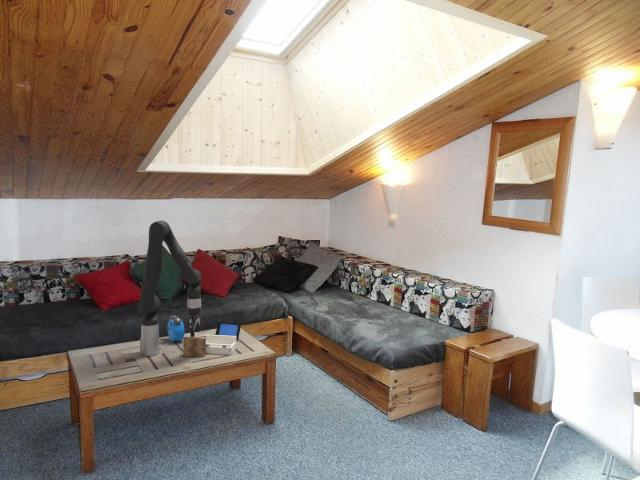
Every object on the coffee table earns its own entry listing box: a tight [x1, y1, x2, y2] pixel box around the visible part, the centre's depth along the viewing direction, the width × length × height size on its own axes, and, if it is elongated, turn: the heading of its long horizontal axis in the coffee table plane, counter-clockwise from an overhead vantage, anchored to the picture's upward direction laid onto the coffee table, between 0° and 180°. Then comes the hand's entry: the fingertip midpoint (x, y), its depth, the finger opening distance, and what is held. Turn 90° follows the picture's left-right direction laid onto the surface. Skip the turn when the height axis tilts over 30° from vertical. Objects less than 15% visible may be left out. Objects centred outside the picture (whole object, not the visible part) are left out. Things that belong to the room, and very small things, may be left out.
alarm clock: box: [167, 315, 185, 342], centre depth 290 cm, size 13×6×15 cm, turn 37°
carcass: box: [205, 334, 237, 356], centre depth 275 cm, size 18×12×7 cm
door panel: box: [182, 336, 207, 357], centre depth 267 cm, size 12×2×10 cm, turn 86°
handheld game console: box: [214, 321, 242, 342], centre depth 294 cm, size 16×13×9 cm
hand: (195, 334), depth 266 cm, fingers open, 8 cm apart
